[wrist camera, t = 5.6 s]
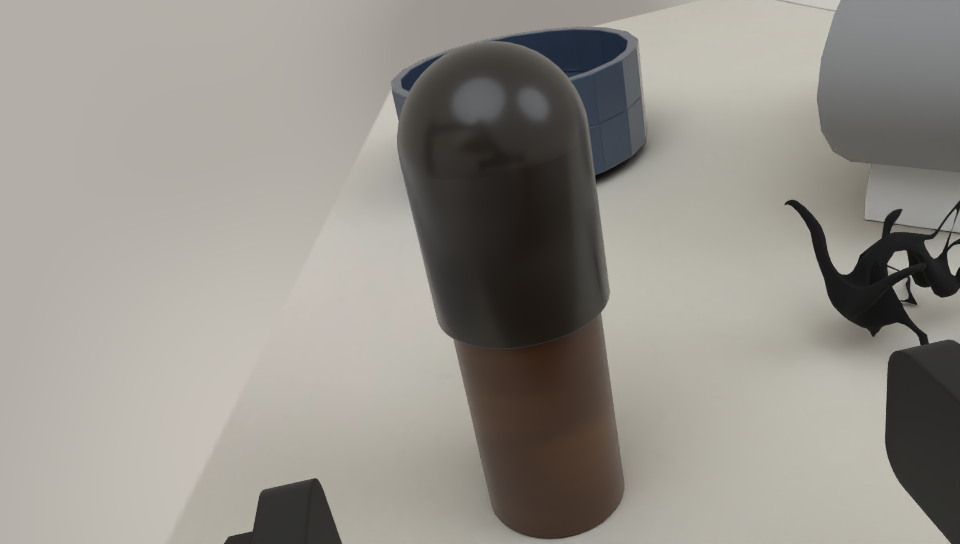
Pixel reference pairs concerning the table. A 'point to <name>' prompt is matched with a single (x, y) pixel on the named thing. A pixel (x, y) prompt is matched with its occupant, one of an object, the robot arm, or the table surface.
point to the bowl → (581, 84)
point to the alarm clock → (897, 104)
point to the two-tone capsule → (518, 276)
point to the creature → (883, 274)
